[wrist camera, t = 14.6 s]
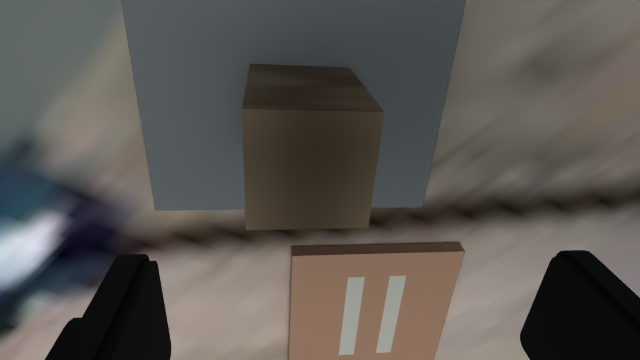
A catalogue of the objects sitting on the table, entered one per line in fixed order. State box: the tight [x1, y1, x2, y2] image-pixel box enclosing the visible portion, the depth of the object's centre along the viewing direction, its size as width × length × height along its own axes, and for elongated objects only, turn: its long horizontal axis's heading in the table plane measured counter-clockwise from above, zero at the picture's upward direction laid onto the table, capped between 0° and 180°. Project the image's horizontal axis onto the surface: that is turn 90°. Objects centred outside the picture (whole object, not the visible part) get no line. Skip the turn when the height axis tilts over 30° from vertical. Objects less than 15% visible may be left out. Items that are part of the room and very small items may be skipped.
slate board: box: [121, 0, 466, 210], centre depth 22 cm, size 16×12×2 cm
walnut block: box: [242, 64, 385, 230], centre depth 18 cm, size 5×5×7 cm
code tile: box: [288, 243, 465, 360], centre depth 30 cm, size 12×12×1 cm
